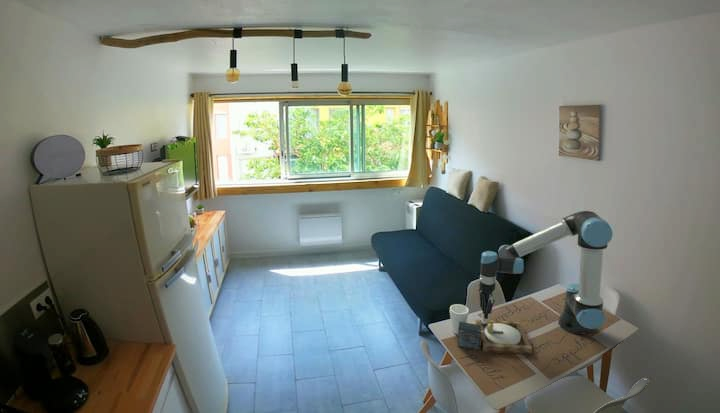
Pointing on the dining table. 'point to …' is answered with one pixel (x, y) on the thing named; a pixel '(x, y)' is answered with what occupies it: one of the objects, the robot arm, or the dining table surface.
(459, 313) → the foam cup
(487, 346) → the housing
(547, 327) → the dining table surface
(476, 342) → the small box
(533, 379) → the dining table surface
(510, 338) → the dial
